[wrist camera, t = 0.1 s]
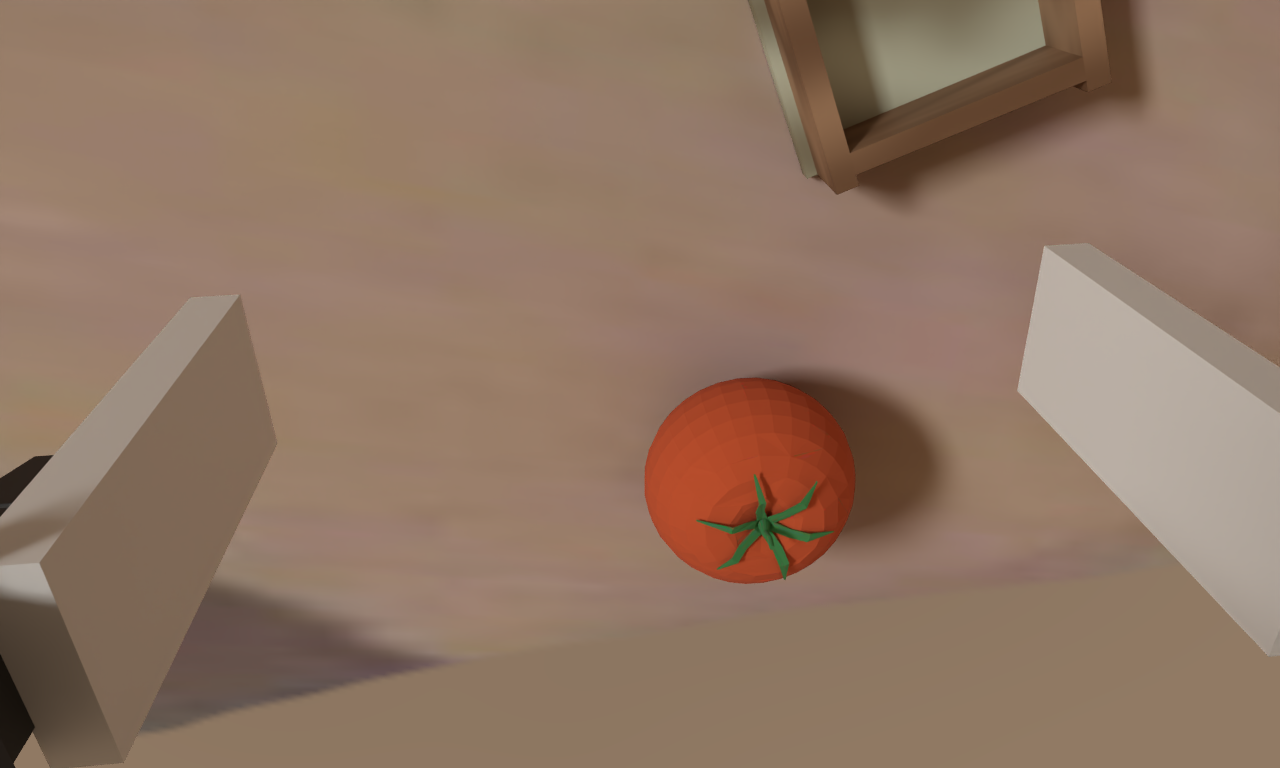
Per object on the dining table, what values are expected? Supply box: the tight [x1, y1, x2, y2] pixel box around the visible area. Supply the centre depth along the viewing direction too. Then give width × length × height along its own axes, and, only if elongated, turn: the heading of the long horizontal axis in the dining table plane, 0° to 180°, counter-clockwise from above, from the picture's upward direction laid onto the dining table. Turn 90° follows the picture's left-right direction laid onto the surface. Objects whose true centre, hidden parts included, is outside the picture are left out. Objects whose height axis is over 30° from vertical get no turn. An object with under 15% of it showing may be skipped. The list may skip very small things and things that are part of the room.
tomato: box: [645, 378, 855, 584], centre depth 45 cm, size 10×10×10 cm
